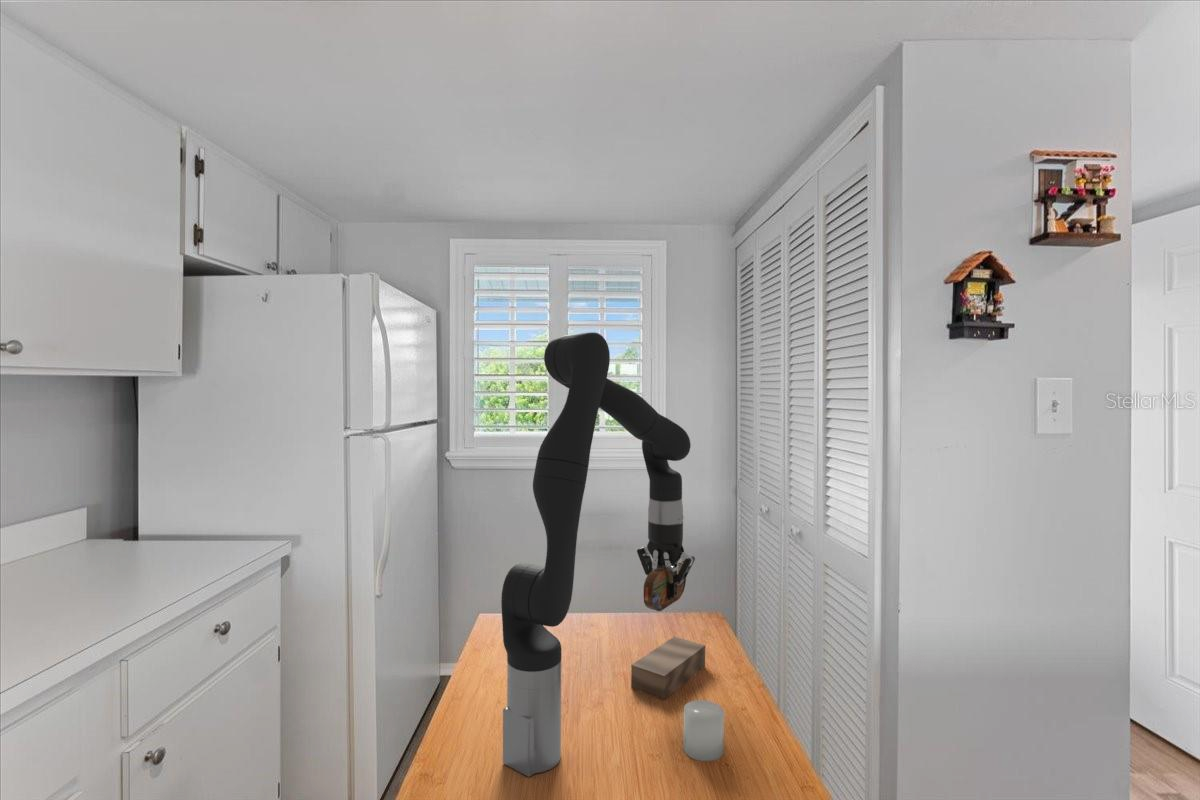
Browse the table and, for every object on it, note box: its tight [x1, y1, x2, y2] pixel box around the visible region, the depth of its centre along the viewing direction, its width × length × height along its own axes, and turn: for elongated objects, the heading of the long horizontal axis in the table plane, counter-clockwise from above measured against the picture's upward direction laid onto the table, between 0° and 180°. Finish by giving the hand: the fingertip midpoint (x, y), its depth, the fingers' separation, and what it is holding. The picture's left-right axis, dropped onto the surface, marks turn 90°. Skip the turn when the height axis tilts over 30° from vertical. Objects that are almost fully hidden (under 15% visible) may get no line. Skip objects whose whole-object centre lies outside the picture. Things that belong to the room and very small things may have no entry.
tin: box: [643, 562, 687, 612], centre depth 137 cm, size 15×3×8 cm, turn 144°
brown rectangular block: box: [630, 636, 706, 701], centre depth 137 cm, size 18×8×5 cm, turn 143°
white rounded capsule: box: [682, 699, 725, 762], centre depth 111 cm, size 7×7×7 cm
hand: (665, 596), depth 137 cm, fingers closed on tin, 2 cm apart
